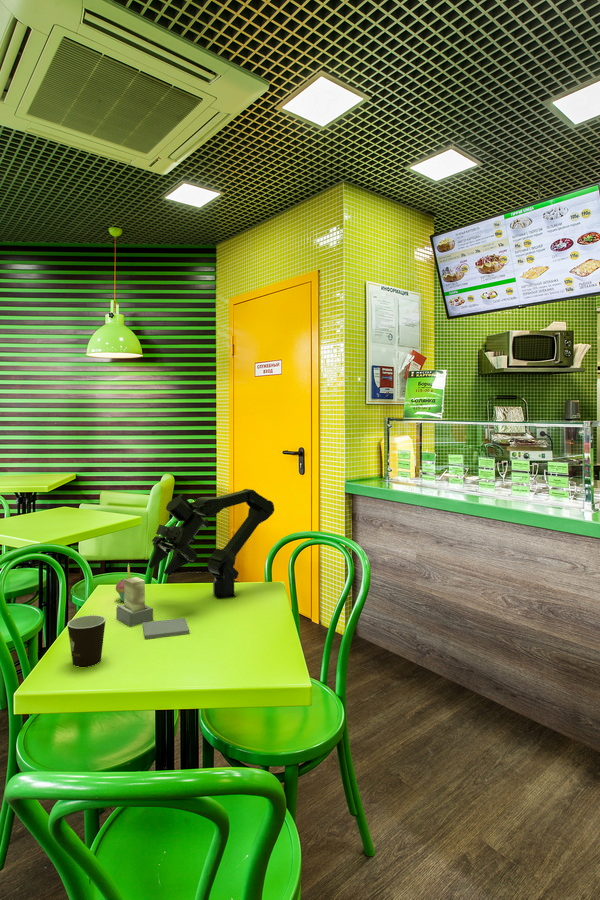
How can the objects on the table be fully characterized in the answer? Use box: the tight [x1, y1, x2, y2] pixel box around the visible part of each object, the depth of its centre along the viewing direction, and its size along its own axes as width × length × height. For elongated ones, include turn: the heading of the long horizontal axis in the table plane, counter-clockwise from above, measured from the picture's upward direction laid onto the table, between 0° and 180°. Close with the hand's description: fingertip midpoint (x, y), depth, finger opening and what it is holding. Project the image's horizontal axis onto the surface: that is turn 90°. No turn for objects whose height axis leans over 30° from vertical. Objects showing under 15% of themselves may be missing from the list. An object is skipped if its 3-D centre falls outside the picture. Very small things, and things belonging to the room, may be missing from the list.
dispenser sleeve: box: [115, 603, 154, 627], centre depth 155 cm, size 7×8×4 cm
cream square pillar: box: [123, 576, 146, 612], centre depth 155 cm, size 4×5×12 cm
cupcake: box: [115, 562, 131, 603], centre depth 172 cm, size 9×8×12 cm
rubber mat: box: [142, 617, 190, 640], centre depth 148 cm, size 12×10×1 cm
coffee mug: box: [67, 614, 106, 668], centre depth 128 cm, size 12×9×10 cm
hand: (157, 570), depth 160 cm, fingers open, 9 cm apart
